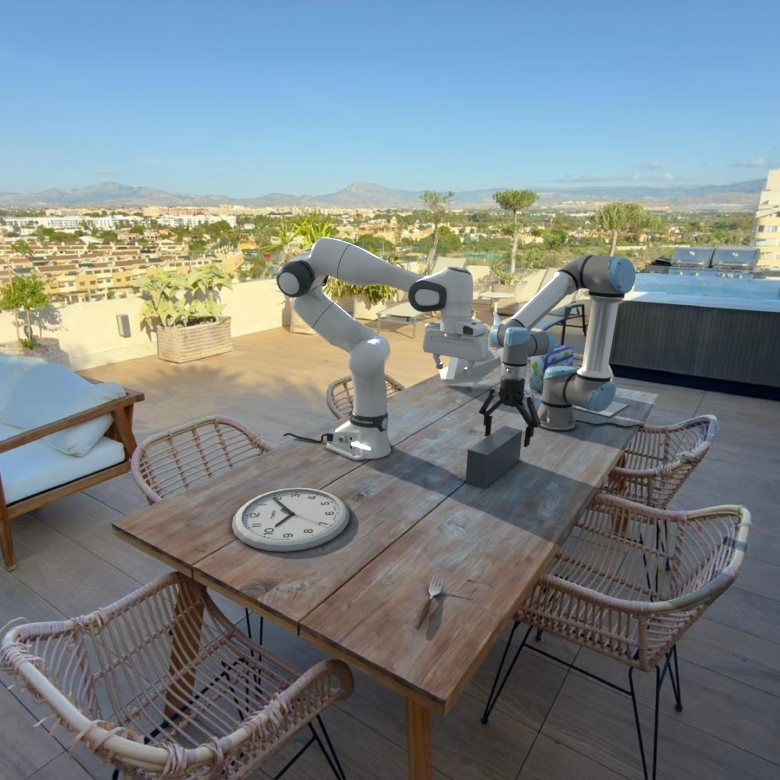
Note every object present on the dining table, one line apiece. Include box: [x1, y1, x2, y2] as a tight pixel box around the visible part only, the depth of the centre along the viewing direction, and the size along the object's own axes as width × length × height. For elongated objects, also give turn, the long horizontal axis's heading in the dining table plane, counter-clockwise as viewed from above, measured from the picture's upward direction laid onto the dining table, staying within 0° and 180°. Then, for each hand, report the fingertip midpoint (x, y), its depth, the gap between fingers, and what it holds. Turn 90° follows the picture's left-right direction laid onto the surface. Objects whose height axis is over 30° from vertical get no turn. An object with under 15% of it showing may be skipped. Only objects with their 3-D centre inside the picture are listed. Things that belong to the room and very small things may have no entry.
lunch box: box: [528, 344, 574, 393], centre depth 247 cm, size 26×11×21 cm, turn 134°
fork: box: [416, 572, 445, 631], centre depth 105 cm, size 3×16×2 cm, turn 160°
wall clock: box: [231, 487, 351, 553], centre depth 136 cm, size 30×2×30 cm
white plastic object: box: [438, 310, 531, 396], centre depth 245 cm, size 37×45×31 cm
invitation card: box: [573, 400, 629, 418], centre depth 226 cm, size 21×1×15 cm
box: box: [465, 425, 523, 489], centre depth 164 cm, size 25×6×11 cm, turn 143°
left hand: (452, 371), depth 154 cm, fingers open, 8 cm apart
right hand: (506, 440), depth 169 cm, fingers open, 13 cm apart
